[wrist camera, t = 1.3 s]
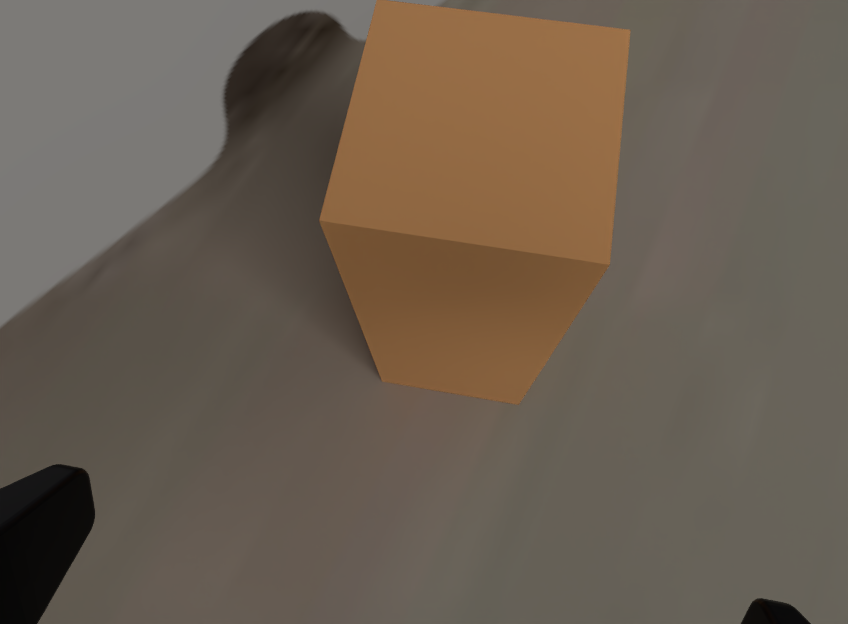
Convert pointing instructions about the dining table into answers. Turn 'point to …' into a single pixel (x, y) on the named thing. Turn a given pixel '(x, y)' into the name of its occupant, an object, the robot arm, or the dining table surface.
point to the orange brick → (475, 191)
